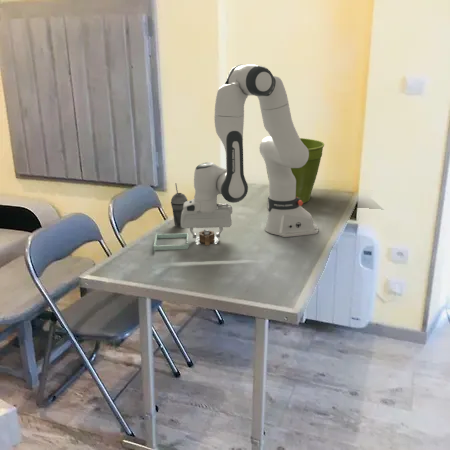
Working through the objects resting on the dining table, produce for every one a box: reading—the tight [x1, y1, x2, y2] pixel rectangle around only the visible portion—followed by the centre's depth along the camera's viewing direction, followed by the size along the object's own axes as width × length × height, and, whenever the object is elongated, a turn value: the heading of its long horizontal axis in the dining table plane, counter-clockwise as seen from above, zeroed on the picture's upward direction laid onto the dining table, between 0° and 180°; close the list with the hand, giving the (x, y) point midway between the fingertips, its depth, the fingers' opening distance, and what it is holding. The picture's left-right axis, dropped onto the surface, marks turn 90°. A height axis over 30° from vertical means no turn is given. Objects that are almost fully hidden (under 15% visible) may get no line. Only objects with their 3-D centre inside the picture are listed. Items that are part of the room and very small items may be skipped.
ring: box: [198, 229, 216, 246], centre depth 208 cm, size 9×6×3 cm
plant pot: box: [265, 137, 325, 204], centre depth 259 cm, size 30×30×29 cm
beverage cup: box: [170, 182, 188, 229], centre depth 223 cm, size 7×7×20 cm
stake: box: [195, 228, 219, 246], centre depth 209 cm, size 9×9×5 cm
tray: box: [153, 232, 190, 253], centre depth 207 cm, size 13×13×2 cm
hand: (206, 237), depth 209 cm, fingers open, 8 cm apart
